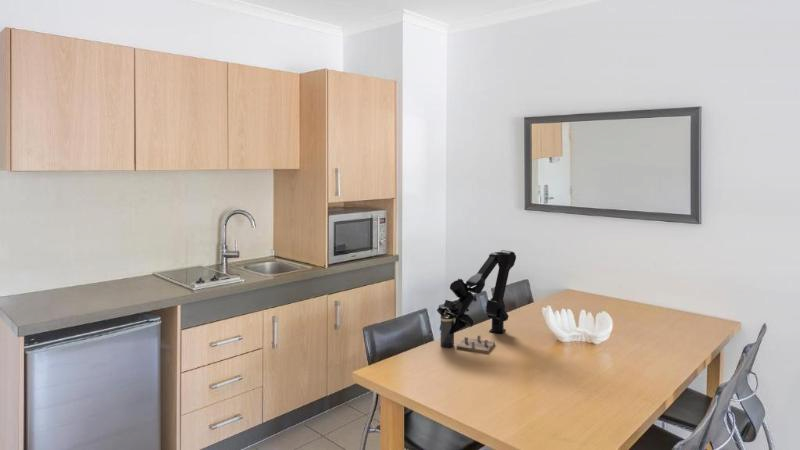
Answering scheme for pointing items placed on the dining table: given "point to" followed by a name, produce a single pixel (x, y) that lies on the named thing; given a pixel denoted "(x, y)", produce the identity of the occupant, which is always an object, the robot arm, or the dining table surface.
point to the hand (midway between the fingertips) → (445, 332)
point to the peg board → (476, 345)
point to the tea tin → (447, 331)
